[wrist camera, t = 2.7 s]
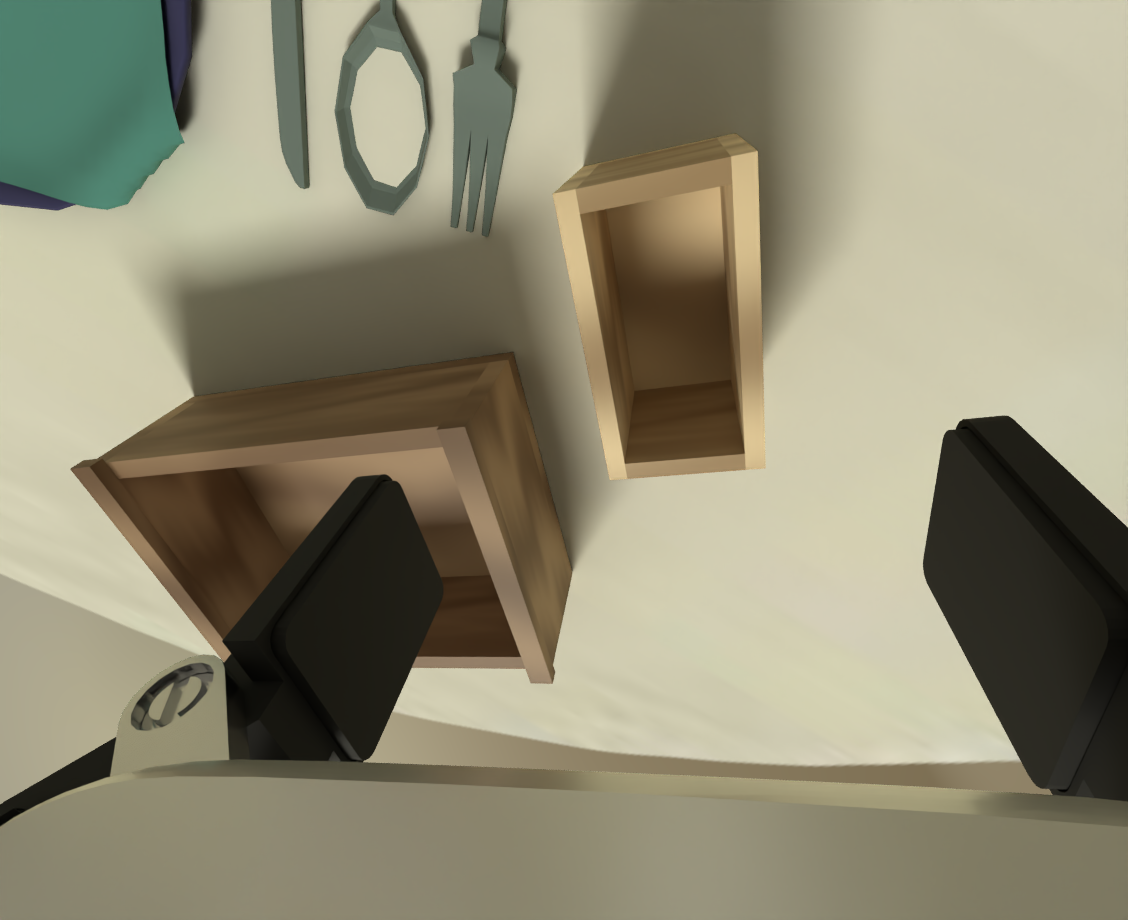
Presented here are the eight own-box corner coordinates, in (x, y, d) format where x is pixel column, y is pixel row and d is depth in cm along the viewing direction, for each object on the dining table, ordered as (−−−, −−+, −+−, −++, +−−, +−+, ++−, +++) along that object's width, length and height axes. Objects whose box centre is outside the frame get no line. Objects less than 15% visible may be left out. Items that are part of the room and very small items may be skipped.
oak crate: (583, 166, 19) (552, 193, 14) (735, 132, 18) (757, 151, 13) (623, 398, 24) (609, 480, 19) (745, 385, 23) (765, 468, 18)
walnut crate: (189, 393, 27) (70, 468, 22) (514, 347, 23) (464, 426, 18) (306, 584, 34) (237, 678, 29) (575, 575, 30) (552, 683, 25)
